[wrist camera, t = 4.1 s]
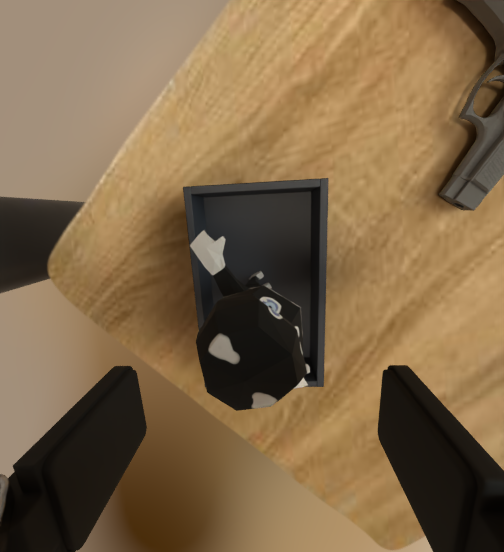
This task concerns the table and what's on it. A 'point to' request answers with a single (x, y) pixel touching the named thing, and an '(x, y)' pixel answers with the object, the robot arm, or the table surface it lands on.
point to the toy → (248, 337)
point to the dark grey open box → (268, 248)
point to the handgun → (481, 124)
